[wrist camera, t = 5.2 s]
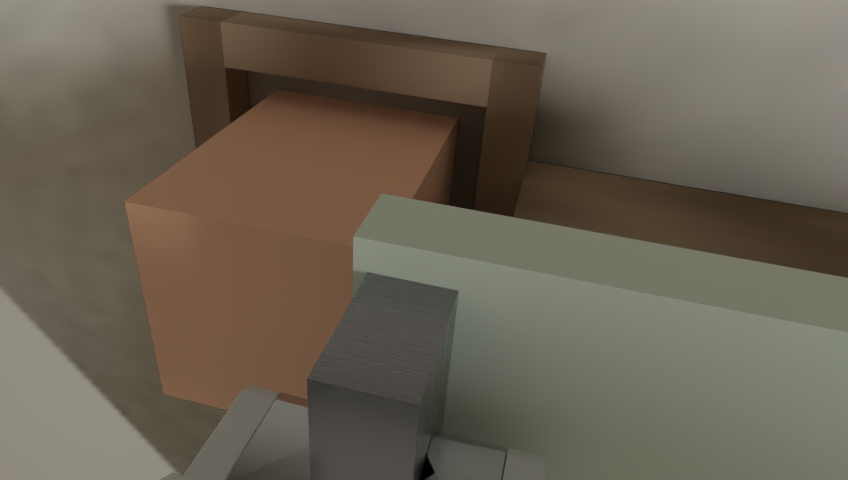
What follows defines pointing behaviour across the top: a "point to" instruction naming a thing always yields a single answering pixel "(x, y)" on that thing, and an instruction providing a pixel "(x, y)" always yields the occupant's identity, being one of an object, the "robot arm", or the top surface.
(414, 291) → the sliding lid
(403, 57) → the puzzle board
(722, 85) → the top surface
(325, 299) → the terracotta block
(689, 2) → the top surface
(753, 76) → the top surface
